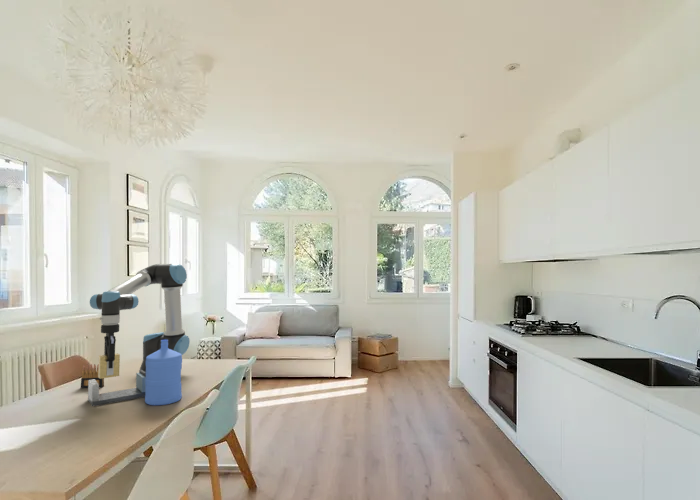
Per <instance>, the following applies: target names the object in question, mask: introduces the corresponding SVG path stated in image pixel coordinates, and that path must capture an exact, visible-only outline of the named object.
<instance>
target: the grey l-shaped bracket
mask: <svg viewBox="0 0 700 500" xmlns="http://www.w3.org/2000/svg"><path fill="white" fill-rule="evenodd" d="M87 390H88V391H87V392H88V393H87V401H88V402H89V404H90V406H91V407H97V406H102V405H108V404H112V403H118V402H119V403H120V402H124V401H130V400H135V399H140V398H145V392H141V391H140V390H139V389H138V388H136V387H133V388H126V389H120V390H115V391H108V392H102V393H100V392H99V391H100V388H99V384H98V383H97V381H96V380H95V379H92V380H88V388H87Z"/></svg>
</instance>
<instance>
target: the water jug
mask: <svg viewBox="0 0 700 500" xmlns="http://www.w3.org/2000/svg"><path fill="white" fill-rule="evenodd" d="M182 366H183V355H182V354H181V353H179V352H176V351H173V350H171V349H169V348H168V340H161V349H160V350H158V351H156V352H154V353H152V354H150V355H148V356H147V357H146V379H145V385H146V391H145V397H144V402H145V404H147V405H149V406H166V405H170V404H174V403H176V402H178V401H180V400H181V399H182V397H183V395H182Z"/></svg>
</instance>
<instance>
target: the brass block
mask: <svg viewBox="0 0 700 500" xmlns="http://www.w3.org/2000/svg"><path fill="white" fill-rule="evenodd" d="M120 359H121V355H120V353H115V360H114V371H113V375H108V376H107V362H106V360H108V355H104V354H100V355H98V364H99V369H98V377H99V379H102V378H104V379H107V378H108V379H109V378H114V377H119V376H120V366H121V365H120V363H121V362H120Z"/></svg>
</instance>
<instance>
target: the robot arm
mask: <svg viewBox="0 0 700 500" xmlns="http://www.w3.org/2000/svg"><path fill="white" fill-rule="evenodd" d="M187 275H188V274H187V270H186V269H185V267H184V266H183V265H182V264H179V263H157V264H152V265H149V266H147V267H145V268H143V269H141V270H139V271H137V272H136V273H135V275H134V276H132V277H131V278H128V279H126V280H124V281H123V282H121V283H118V285H116V286H114V287H112V288H110V289H108V290H106V291H103V292H102V293H98V294H97V293H96V294H92V295H91V297H90V298H89V305H90V307H91V309H93V310H101V317H100V318H99V320H101V321H100V323H101V326H100V333H101V334H105V336H104V339H103V340H104V350H103V351H104V353H103V355H108V360H106V362H107V376H108V375H113V371H114V360H115V354H116V341H117V339H116V336H115V333H118V332H119V331H120V324H119V323H120V321H121V320H120V319H121V316H120V314H121V313H120V311H125V310H132V309H133V310H134V309H135V308H136V307H138V305H139V298H138V296H137V295H136V294H133V293H135V292H136V291H138V290H140V289H141V288H144V287H145V288H146V287H147V286H150V285H158V284H159V285H160V284H161V289H162V290H163V291H164V292H163V293H164V308H165V309H164V311H165V313H164V315H165V331H164V332H162V331H160V332H154V333H149V334H145V335H144V336H143V338H142V339H143V340H142V362H141V364H140V368H139V370H143V371H144V372H146V357H147V356H148V355H150V354H152V353H154V352H156V351H158V350H160V349H161V340H168V348H169V349H171V350H173V351H176V352H179V353H181V354H182V356H183V355H184V354H186V352H187V351H188V349H189V347H190V341H191V339H190V337H189V336H188V335H186V331H185V330H184V329H183V325H182V324H183V322H182V302H181V299H182V298H181V289H182V288H183V286H184V283H186V282H187ZM138 373H140V372H139V371H138Z"/></svg>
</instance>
